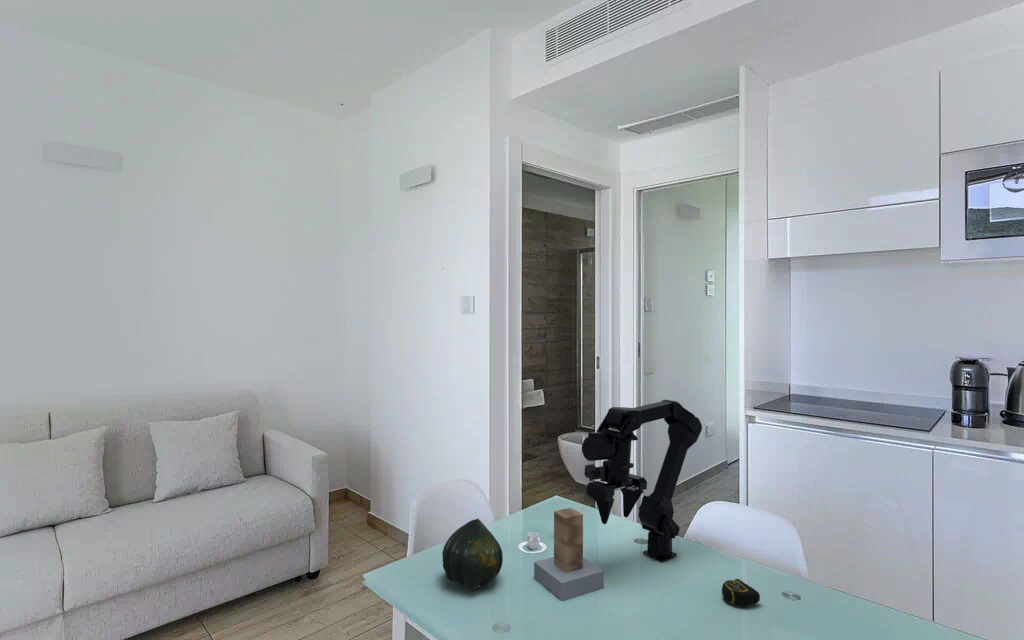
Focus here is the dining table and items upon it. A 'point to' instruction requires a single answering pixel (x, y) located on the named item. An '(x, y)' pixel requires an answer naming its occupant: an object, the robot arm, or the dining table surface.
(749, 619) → the dining table surface
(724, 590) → the tape measure
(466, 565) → the squash
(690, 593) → the dining table surface
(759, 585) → the dining table surface
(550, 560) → the grey base block
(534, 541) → the teacup and saucer
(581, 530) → the walnut pillar
